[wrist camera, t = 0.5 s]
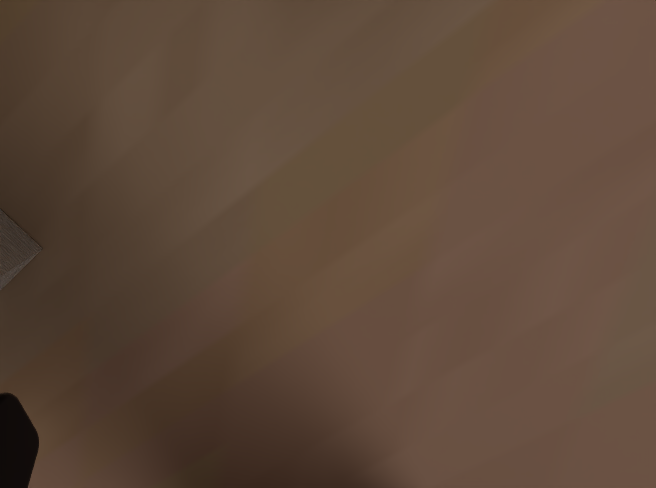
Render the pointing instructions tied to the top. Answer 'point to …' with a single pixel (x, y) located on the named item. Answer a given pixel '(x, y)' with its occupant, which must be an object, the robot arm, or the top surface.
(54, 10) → the top surface
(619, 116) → the top surface
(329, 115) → the top surface
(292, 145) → the top surface
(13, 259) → the grey square peg
